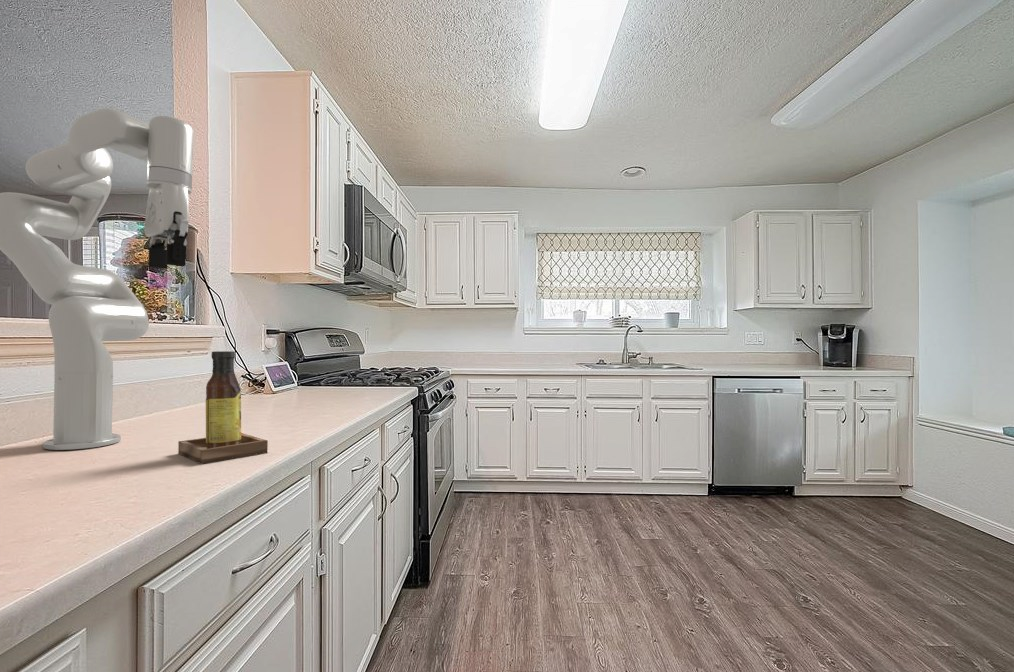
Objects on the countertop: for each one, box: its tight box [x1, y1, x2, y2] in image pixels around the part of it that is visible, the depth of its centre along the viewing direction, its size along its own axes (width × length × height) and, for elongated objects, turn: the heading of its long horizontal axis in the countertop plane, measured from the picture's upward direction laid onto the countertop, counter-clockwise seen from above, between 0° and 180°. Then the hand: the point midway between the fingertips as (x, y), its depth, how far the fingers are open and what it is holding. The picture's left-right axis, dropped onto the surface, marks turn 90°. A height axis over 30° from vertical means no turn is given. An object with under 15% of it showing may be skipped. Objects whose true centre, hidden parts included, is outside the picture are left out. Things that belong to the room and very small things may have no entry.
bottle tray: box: [177, 432, 268, 465], centre depth 99 cm, size 12×12×2 cm
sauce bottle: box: [205, 350, 242, 449], centre depth 100 cm, size 7×6×20 cm
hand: (166, 266), depth 100 cm, fingers open, 9 cm apart
